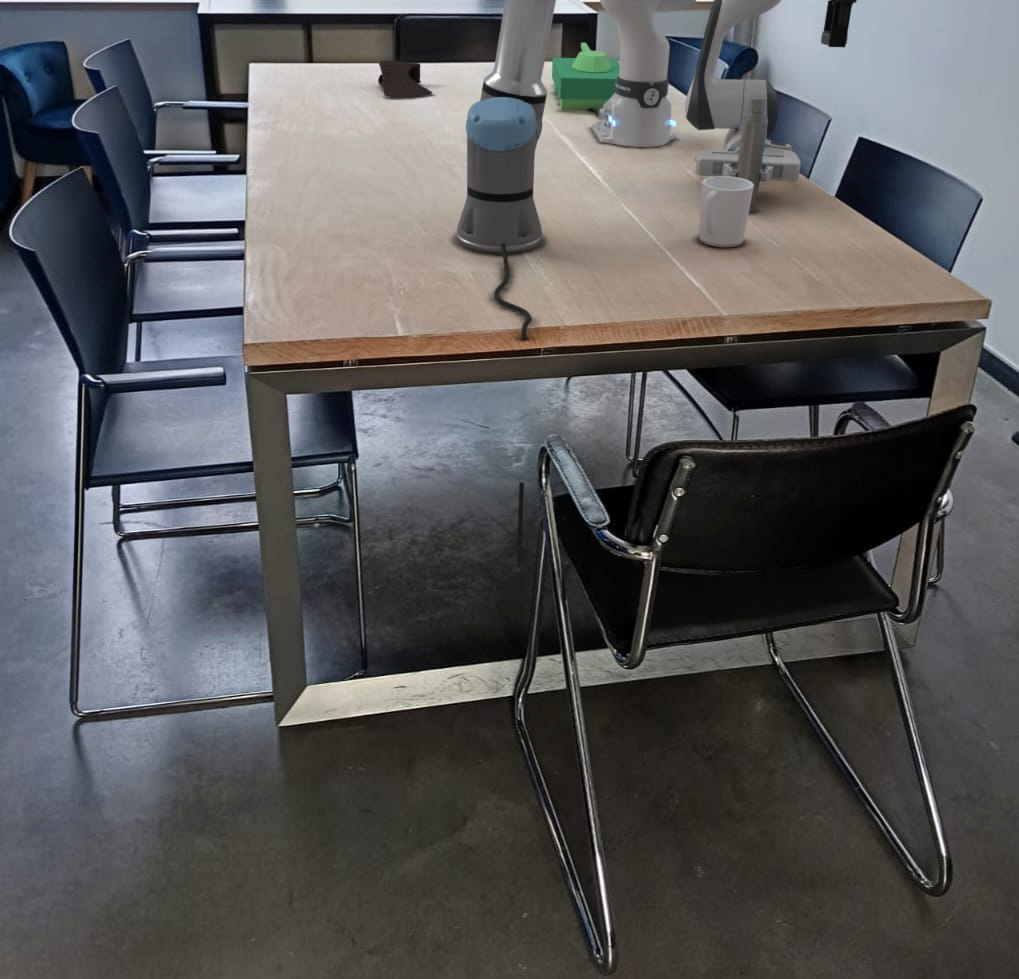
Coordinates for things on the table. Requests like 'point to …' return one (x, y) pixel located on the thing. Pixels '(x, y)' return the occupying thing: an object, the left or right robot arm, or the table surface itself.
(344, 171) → the table surface
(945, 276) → the table surface
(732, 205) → the mug
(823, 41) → the cap
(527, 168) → the left robot arm
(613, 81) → the toy tank
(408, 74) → the axe head
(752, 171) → the bottle
